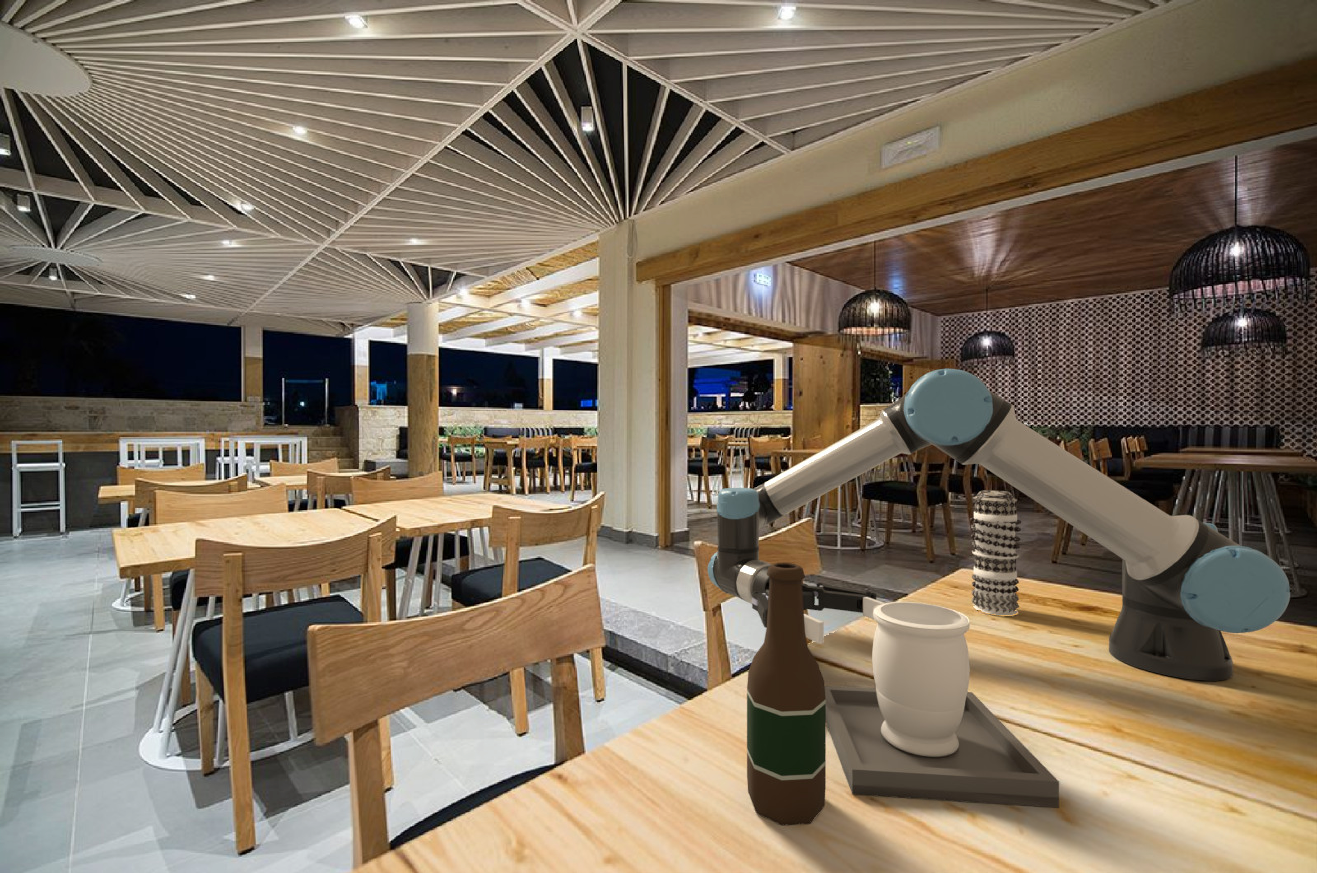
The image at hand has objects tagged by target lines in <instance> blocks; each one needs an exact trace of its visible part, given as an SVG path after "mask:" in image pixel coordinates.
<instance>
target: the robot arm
mask: <svg viewBox="0 0 1317 873" xmlns="http://www.w3.org/2000/svg"><path fill="white" fill-rule="evenodd" d="M932 445H933V446H934V447H936V448H937V449H938V450H940V451H942V452H943V453H945V454H946V455H948V456H949V457H951V458H952V459H954V460H955V461H957V462H958V463H959V464H961V465H965V466H966V465H974V464H976V465H980V466H982V467H983V468H985V469H986V470H988V471H990V472H991V473H992V474H994V475H995V476H997V477H999V478H1000V479H1002V480H1003V481H1004V482H1006V483H1007V484H1009V485H1011V486H1012V487H1014V488H1015V489H1017V490H1018V491H1020V492H1021V493H1023V494H1024V495H1026V496H1027V497H1028V498H1030V499H1031V500H1033V501H1034V502H1036V503H1038V504H1039V505H1041V506H1042V507H1043V508H1045V509H1047V510H1048V511H1050V512H1051V513H1053V514H1054V515H1056V516H1057V517H1059V518H1060V519H1061V520H1063V521H1065V522H1067V523H1068V524H1069V525H1071V526H1073V527H1074V528H1075V529H1077V530H1078V531H1080V532H1081V533H1083V534H1085V535H1086V536H1088V537H1089V538H1091V539H1093V540H1094V541H1095V542H1097V543H1098V544H1099V545H1101V546H1103V547H1104V548H1106V549H1107V550H1109V551H1110V552H1112V553H1114V554H1115V555H1117V556H1118V557H1119V558H1121V559H1122V564H1121V565H1122V567H1121V568H1122V569H1121V570H1122V574H1121V575H1122V580H1121V581H1122V584H1121V585H1122V590H1121V591H1122V594H1121V595H1122V600H1121V601H1122V603H1121V605H1122V606H1121V610H1120V612H1119V615H1118V617H1117V619H1116V621H1115V624H1114V626H1113V628H1112V631H1111V634H1110V635H1109V639H1108V652H1109V654H1110V655H1111V656H1113V657H1114V658H1115V659H1117V660H1119V661H1121V662H1123V663H1125V664H1128V665H1130V666H1133V667H1135V668H1138V669H1141V670H1144V671H1147V672H1149V671H1150V672H1152V673H1155V674H1159V675H1164V676H1170V677H1173V678H1179V679H1186V680H1194V681H1207V682H1208V681H1210V682H1211V681H1215V682H1217V681H1224V680H1229V679H1230V678H1232V677H1233V676H1232V675H1234V673H1233V672H1234V670H1233V669H1234V668H1233V667H1234V664H1233V662H1234V661H1233V657H1232V655H1231V654H1230V651H1229V648H1228V645H1227V643H1226V640H1225V638H1224V636H1223V633H1222V632H1225V633H1228V634H1229V633H1230V634H1245V633H1253V632H1257V631H1260V630H1263V629H1265V628H1267V627H1269V626H1271V625H1272V624H1274V623H1275V622H1276V621H1278V620H1279V618H1280V617H1282V616H1283V615H1284V613H1285V612H1286V609H1287V607H1288V605H1289V602H1290V599H1291V592H1290V589H1291V588H1290V581H1289V579H1288V577H1287V575H1286V572H1285V571H1284V570H1283V569H1282V567H1281V566H1280V565H1279V564H1278V563H1277V562H1276V561H1275V560H1273V559H1272V558H1271V557H1269V556H1267V555H1266V554H1265V553H1264V552H1261V551H1260V550H1258V549H1254V548H1252V547H1249V546H1244V545H1243V546H1242V545H1240V544H1239V543H1237V542H1235V541H1234V540H1232V539H1230V538H1228V537H1226V536H1225V535H1223V534H1221V533H1220V532H1219V531H1218V527H1217V526H1216V525H1215V524H1214V523H1210V522H1202V521H1201V520H1199V519H1197V518H1196V517H1194V516H1192V515H1190V514H1184V515H1183V514H1181V515H1169V514H1168V513H1166V512H1165V511H1163V510H1162V509H1160V508H1158V507H1157V506H1155V505H1154V504H1152V503H1150V502H1149V501H1147V500H1146V499H1144V498H1142V497H1141V496H1139V495H1138V494H1136V493H1134V492H1133V491H1131V490H1130V489H1128V488H1127V487H1125V486H1123V485H1121V484H1120V483H1119V482H1117V481H1115V480H1114V479H1112V478H1110V477H1109V476H1107V475H1105V474H1104V473H1102V472H1101V471H1099V470H1097V469H1096V468H1094V467H1093V466H1092V465H1089V464H1088V463H1087V462H1085V461H1083V460H1082V459H1080V458H1078V457H1077V456H1075V455H1074V454H1072V453H1070V452H1069V451H1067V450H1066V449H1064V448H1063V447H1061V446H1059V445H1058V444H1056V443H1054V442H1053V441H1051V440H1050V439H1048V438H1047V437H1045V436H1043V435H1042V434H1040V433H1039V432H1037V431H1035V430H1033V429H1032V428H1030V427H1029V426H1027V425H1026V424H1024V423H1023V422H1021V421H1020V420H1018V419H1017V416H1016V413H1015V406H1014V405H1013V404H1012V403H1010V402H1009V401H1008V400H1005V399H1004V398H1003V397H1000V396H999V395H997V394H996V393H994V392H993V391H990V389H989V388H988V387H987V386H986V384H985V383H984V382H983V381H982V380H981V379H980V378H979V377H977V376H976V375H974V374H973V373H970V372H968V371H965V370H962V369H955V368H941V369H936V370H932V371H929V372H927V373H925V374H923V375H922V376H921V377H919V378H917V380H916V381H915V382H914V383H912V385H911V386H910V388H909V390H908V391H907V392H906V393H905V394H904V395H903V396H902V397H900V398H899V399H898V400H897V401H895V402H893V403H891V404H890V405H889V406H887V407H885V408H883V409H882V410H880V414H879V417H878V418H876V419H875V420H874V421H871V422H870V423H868V424H866V425H864V426H862V427H861V428H859V429H857V430H856V431H854V432H852V433H850V434H848V435H846V436H845V437H843V438H842V439H840V440H837V441H836V442H834V443H833V444H831V445H829V446H827V447H825V448H824V449H822V450H820V451H818V452H817V453H815V454H813V455H811V456H810V457H807V458H806V459H804V460H802V461H800V462H799V463H796V464H795V465H794V466H792V467H790V468H788V469H786V470H785V471H782V472H781V473H779V474H778V475H776V476H774V477H772V478H770V479H769V480H768V481H765V482H764V483H762V484H760V485H758V486H757V487H754V488H751V487H749V488H748V487H728V488H722V489H720V490H719V491H718V494H717V505H716V515H717V551H716V552H714V553H713V555H712V556H711V558H710V560H709V562H708V565H707V575H708V578H709V580H710V581H711V583H712V584H713V585H714V586H715V587H717V588H719V589H720V590H721V591H722V592H723V593H725V594H728V595H732V596H733V597H736V598H739V599H741V600H743V601H745V602H746V603H749V604H751V608H752V609H753V610H754V611H756V612H757V614H758V616H759V618H760V621H761V623H762V625H763V627H764V628H765V629H767V614H768V598H769V582H770V577H769V576H768V575H767V571H768V567H769V566H770V565H773V564H774V563H770V562H767V561H763V560H761V559H759V558H760V557H759V555H760V545H759V544H760V542H759V541H760V540H759V539H760V530H761V529H763V528H764V527H766V526H767V525H769V524H771V523H773V522H775V521H777V520H779V519H780V518H782V517H784V516H786V515H788V514H789V513H792V512H793V511H795V510H797V509H798V508H800V507H802V506H805V505H807V504H808V503H810V502H812V501H814V500H815V499H817V498H819V497H822V496H823V495H825V494H827V493H829V492H830V491H832V490H835V489H836V488H838V487H840V486H842V485H844V484H846V483H847V482H850V481H851V480H853V479H855V478H857V477H859V476H860V475H863V474H865V473H867V472H868V471H870V470H872V469H873V468H876V467H877V466H879V465H882V464H883V463H885V462H887V461H889V460H890V459H893V458H894V457H896V456H898V455H901V454H904V455H905V454H906V455H912V454H914V453H915V452H918V451H920V450H922V449H924V448H926V447H929V446H932ZM802 592H803V608H804V611H806V610H812V611H817V612H818V611H823V610H824V609H828V610H829V609H830V610H835V611H836V610H837V611H845V612H853V613H861V614H862V616H863V617H866V618H868V619H871V620H874V621H875V619H874V617H873V608H874V607H875V606H877V605H879V604H883V603H884V602H883V601H880V600H878V599H877V593H876V592H872V591H871V590H866V591H865V590H864V591H863V590H858V589H853V588H845V587H839V586H836V585H835V586H834V585H830V584H826V583H823V582H817V583H816V586H815V585H809V584H807V583H803V582H802ZM816 600H817V604H816ZM804 624H805V635H806V639H809V641H810V640H811V641H813V642H815V643H816V644H819V645H820V644H824V642H825V641H824V637H825V636H824V635H825V634H824V632H825V630H824V629H825V628H824V621H822V620H821V619H818V618H816V617H813V616H811V615H809V614H806V613H804ZM1231 676H1232V677H1231Z"/></svg>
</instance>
